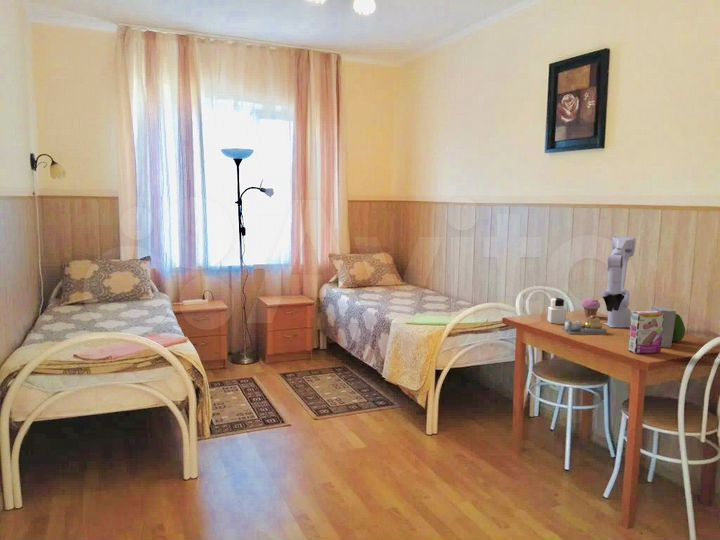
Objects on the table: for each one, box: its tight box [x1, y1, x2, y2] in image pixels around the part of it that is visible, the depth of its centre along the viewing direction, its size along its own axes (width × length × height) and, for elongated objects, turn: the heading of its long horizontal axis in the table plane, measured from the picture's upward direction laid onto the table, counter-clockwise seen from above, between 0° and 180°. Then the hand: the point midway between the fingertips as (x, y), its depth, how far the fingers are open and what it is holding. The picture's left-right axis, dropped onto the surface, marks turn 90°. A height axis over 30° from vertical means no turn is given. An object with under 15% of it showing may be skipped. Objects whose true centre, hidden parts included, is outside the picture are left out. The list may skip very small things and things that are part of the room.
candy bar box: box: [628, 310, 664, 355], centre depth 216 cm, size 11×5×16 cm, turn 99°
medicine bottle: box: [546, 297, 567, 325], centre depth 268 cm, size 7×7×12 cm
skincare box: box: [650, 305, 677, 348], centre depth 227 cm, size 8×7×16 cm
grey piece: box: [561, 318, 608, 335], centre depth 250 cm, size 17×10×5 cm, turn 90°
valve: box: [583, 315, 603, 329], centre depth 250 cm, size 7×4×7 cm, turn 90°
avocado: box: [672, 313, 686, 343], centre depth 233 cm, size 8×8×12 cm
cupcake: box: [581, 297, 601, 318], centre depth 281 cm, size 9×9×10 cm
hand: (612, 310), depth 249 cm, fingers open, 4 cm apart
